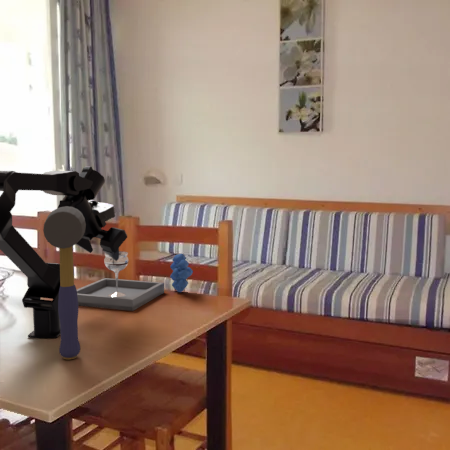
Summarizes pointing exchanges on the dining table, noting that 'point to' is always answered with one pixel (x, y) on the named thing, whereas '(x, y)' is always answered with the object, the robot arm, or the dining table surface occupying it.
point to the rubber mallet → (66, 272)
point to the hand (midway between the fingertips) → (104, 255)
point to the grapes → (180, 272)
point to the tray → (133, 289)
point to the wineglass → (116, 268)
